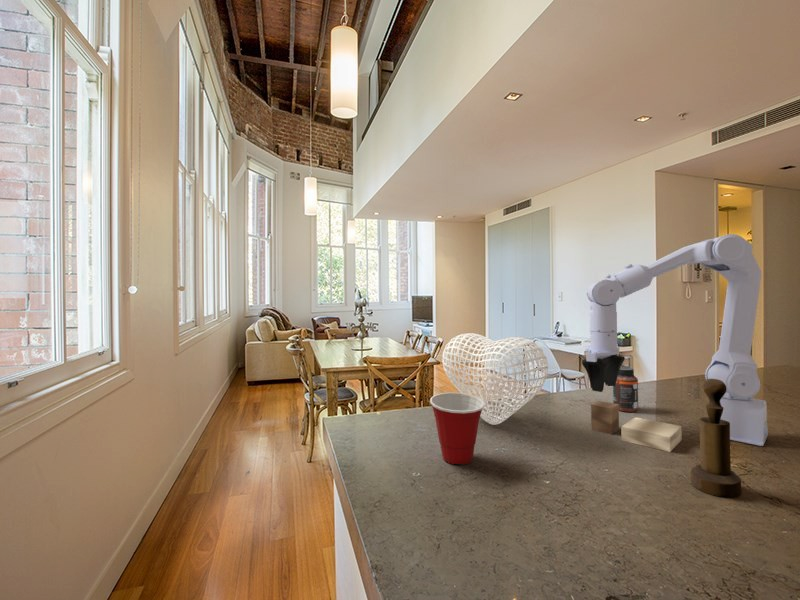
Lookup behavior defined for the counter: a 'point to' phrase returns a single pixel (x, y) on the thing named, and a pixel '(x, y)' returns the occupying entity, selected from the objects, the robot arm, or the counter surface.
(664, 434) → the birch base block
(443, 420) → the plastic cup
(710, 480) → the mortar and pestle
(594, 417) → the walnut block
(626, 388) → the supplement bottle
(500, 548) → the counter surface
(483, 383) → the heart
